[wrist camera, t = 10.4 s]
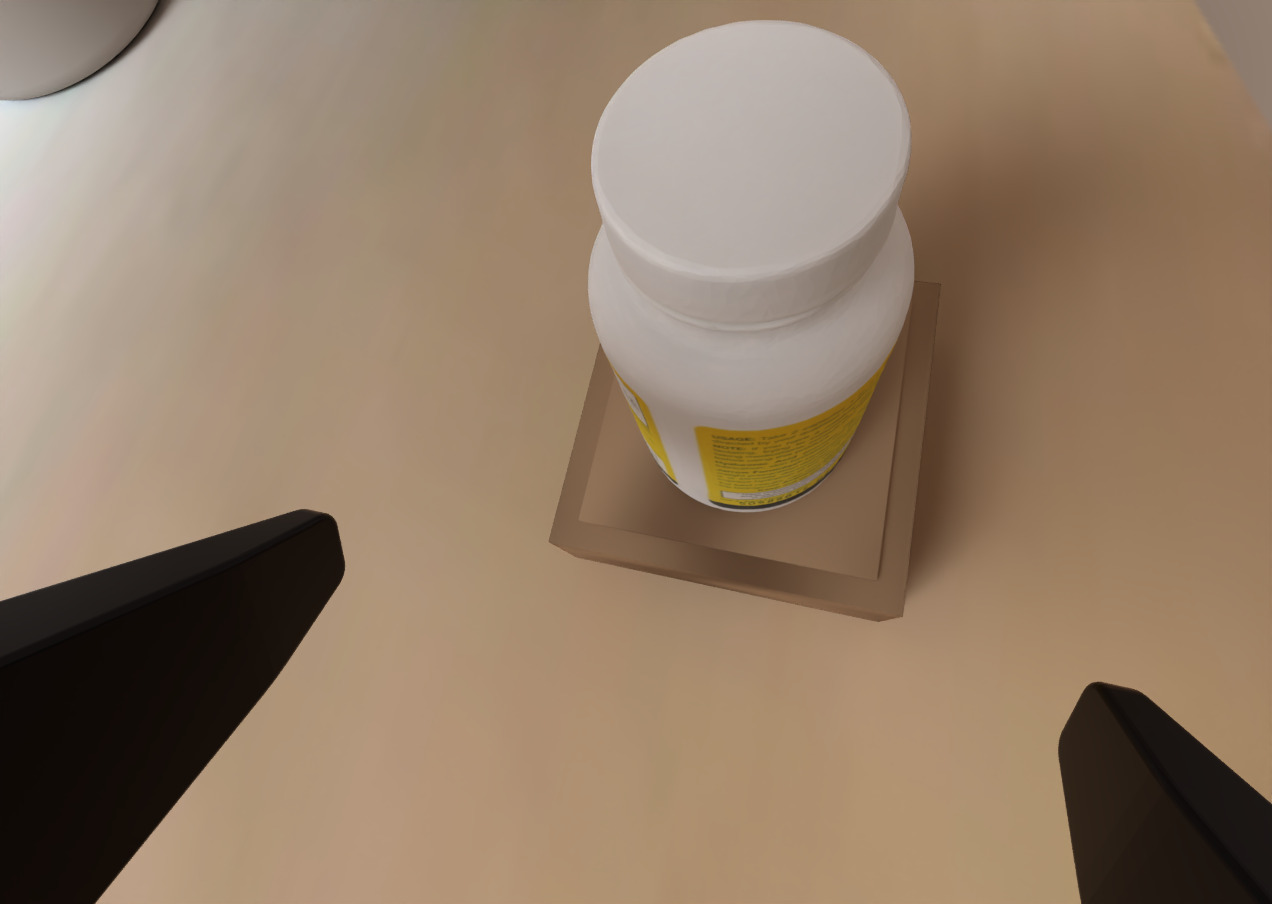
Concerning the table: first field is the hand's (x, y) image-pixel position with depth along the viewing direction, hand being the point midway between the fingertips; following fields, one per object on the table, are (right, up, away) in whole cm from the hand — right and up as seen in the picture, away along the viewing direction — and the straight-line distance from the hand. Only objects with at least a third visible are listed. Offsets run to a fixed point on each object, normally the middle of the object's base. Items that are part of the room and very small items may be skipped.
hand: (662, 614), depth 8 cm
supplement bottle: (+3, +3, +10) cm, 10 cm away
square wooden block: (+3, +2, +12) cm, 13 cm away
